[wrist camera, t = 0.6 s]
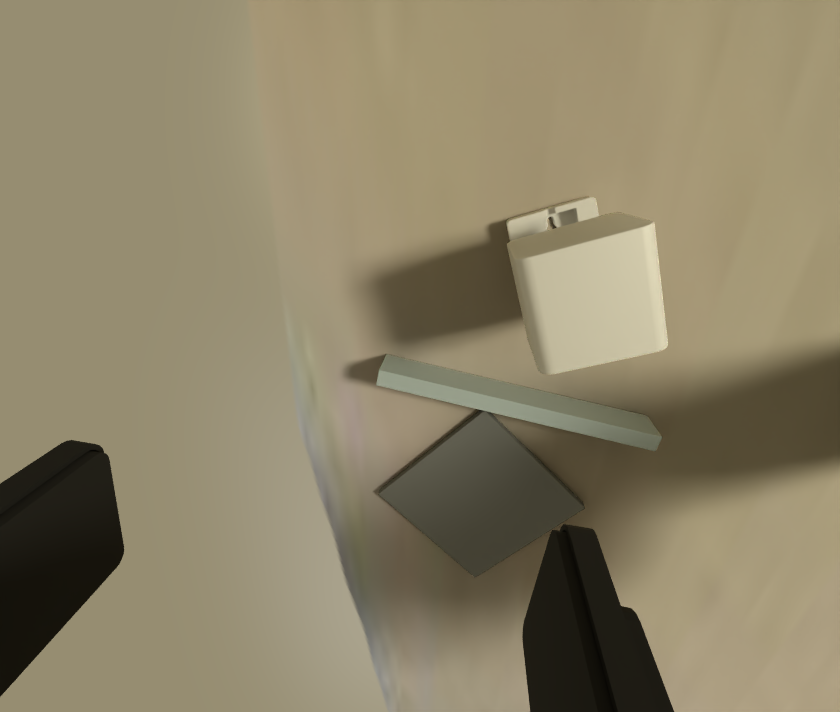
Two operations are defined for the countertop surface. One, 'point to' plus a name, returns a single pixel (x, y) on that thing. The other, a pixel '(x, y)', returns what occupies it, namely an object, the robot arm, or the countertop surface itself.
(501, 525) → the mat
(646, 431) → the low wall
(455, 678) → the countertop surface
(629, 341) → the security camera
